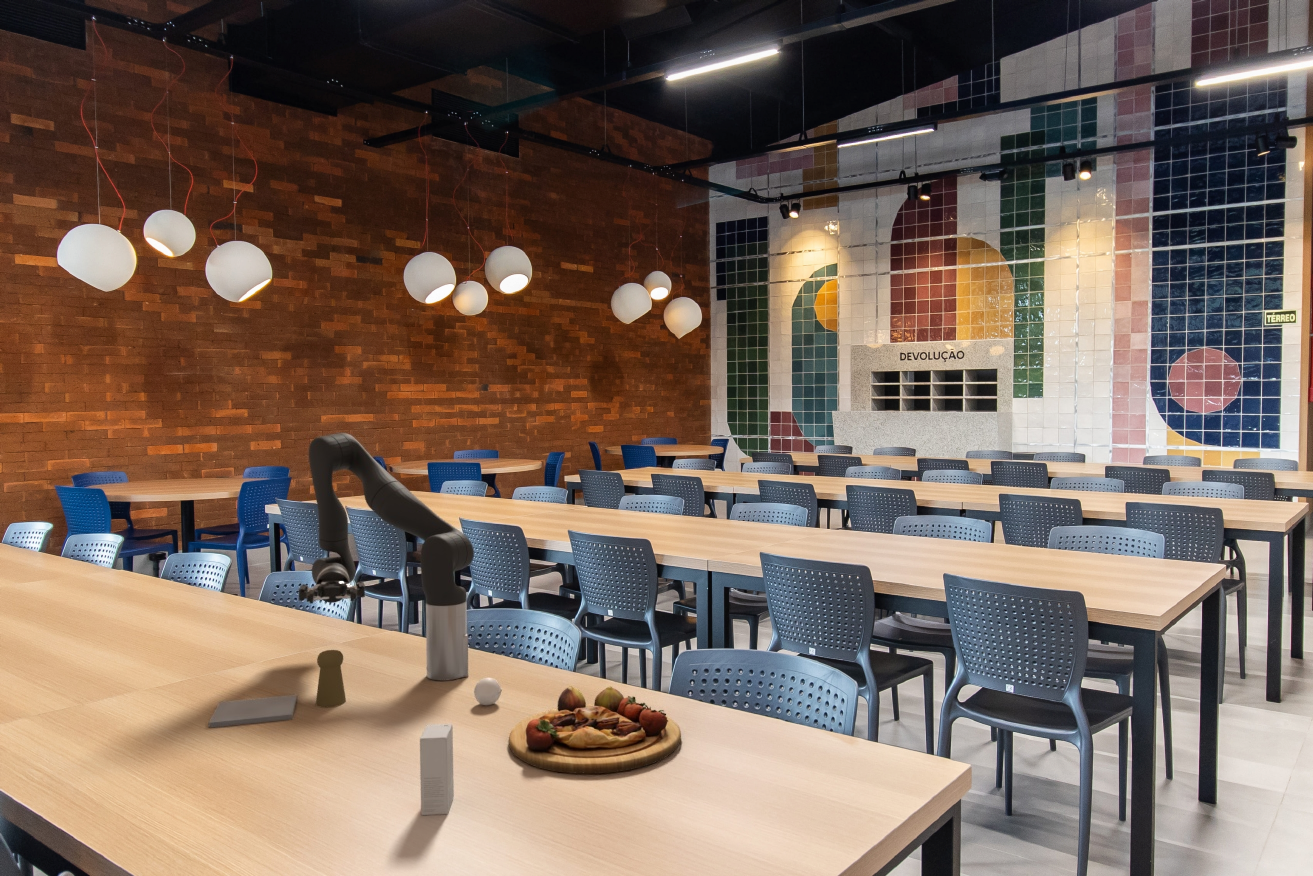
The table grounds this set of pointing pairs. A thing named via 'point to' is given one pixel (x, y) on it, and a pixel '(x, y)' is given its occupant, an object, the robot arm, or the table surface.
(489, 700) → the white egg
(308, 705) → the table surface
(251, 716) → the slate tile
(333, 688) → the cork
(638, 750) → the wooden plate with food
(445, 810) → the skincare box
